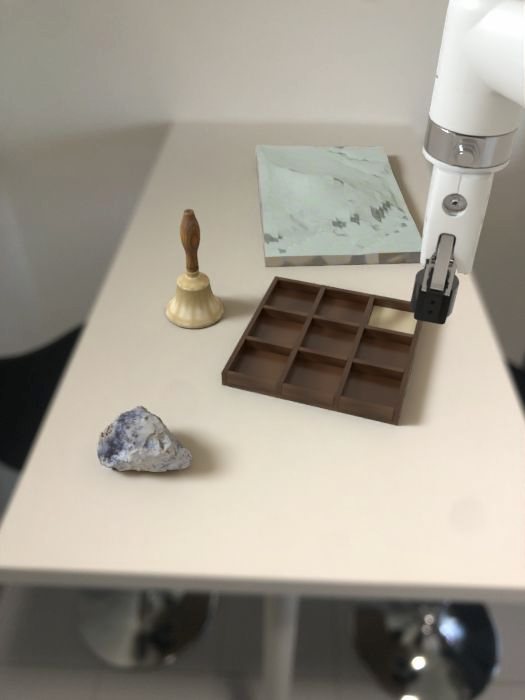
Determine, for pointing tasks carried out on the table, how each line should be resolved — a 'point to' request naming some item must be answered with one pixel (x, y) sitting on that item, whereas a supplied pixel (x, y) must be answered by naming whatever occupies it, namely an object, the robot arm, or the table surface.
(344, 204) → the decorative slab
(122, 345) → the table surface
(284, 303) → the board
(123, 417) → the mineral specimen
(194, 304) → the hand bell
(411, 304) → the dark grey cylinder
